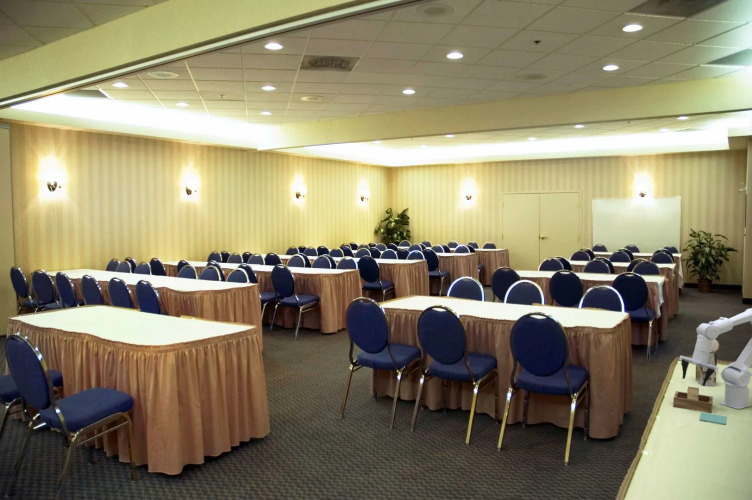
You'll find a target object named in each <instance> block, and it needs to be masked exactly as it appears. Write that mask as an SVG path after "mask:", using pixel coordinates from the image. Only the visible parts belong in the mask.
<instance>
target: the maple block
mask: <svg viewBox="0 0 752 500" xmlns="http://www.w3.org/2000/svg"><path fill="white" fill-rule="evenodd" d="M686 393H687V399H689V400H696V401H699V395H700V388H699V387H694V386H688V387H687V390H686Z"/></svg>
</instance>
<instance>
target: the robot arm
mask: <svg viewBox="0 0 752 500" xmlns="http://www.w3.org/2000/svg"><path fill="white" fill-rule="evenodd" d="M748 322H750V324H751V325H752V307H751V308H747V309H745V311H744V312H741V313H738V314H736V315H735V316H732V317H730V318H727V317H723V316H720V317H719V318H718V319H716V320H714V321H709V322H708V323H700V324H699V325H698V327H696V333H697V335H696V338H697V339H696V343H695V346H694V350H693V353H692V357H687V356H684V355H680V356H679V359H678V360H679V361H680V365H681V369H682V377H681V378H682V379H683V380H684V379H686V376H687V371H688V368H689V364H692V365H694V366H696V365H698V366H701V367H704V368H707V371H706V375H705V379H704V381H703V385H705V384H706V382H707V380H708V378H709V377H710V376H711V375H712V374H713V373H714V372H715V371H716V372H718V371H719V366H714V365H711V364H708V363H707V361H708V357H709V353H710V350H711V347H712V343H713V339H717V338H719V337H718V336H719V335H722V334H723V333H727V332H729V331H731V330H733V328H734V326H735V327H736V326H738V325H741V324H745V323H748ZM696 363H698V364H696ZM699 364H701V365H699ZM702 365H703V366H702ZM705 366H706V367H705ZM751 367H752V337H751V338H750V339H749V341H748V343H747V344H746V345H745V347H744V349H743V350H742V352H741V353H740V354H739V356H738V357H737V359H736V360H735V361H734V362H733V361H732V362H731V363H728V365H727V366H726V367H725V368H723V369H722V370H721V372H720V373H721V374H720V376H721V379H722V380H723V381H724V401H721V402H719V404H720V405H722V406H726V407H729V408H733V409H735V410H741V409H744V408H748V407H750V406H752V404H751V403H750V388H749V387H748V385H749V384H750V381H751V378H752V371H751Z"/></svg>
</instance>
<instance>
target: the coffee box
mask: <svg viewBox="0 0 752 500" xmlns="http://www.w3.org/2000/svg"><path fill="white" fill-rule="evenodd" d="M707 363H708V364H711V365H714V366H717V365H718V364H717V363H718V353H717V352H714V351H712V350H710V353H709V357H708V361H707ZM696 364H698V363H696ZM699 365H701V364H699ZM702 366H703V365H702ZM705 367H706V366H705ZM717 367H718V366H717ZM706 371H707V368H704V367H701V366H698V365H695V381H696V382H697V383H698V384H700V385H701V386H703V387H704V386H707V387H717V371H715V372H714V373H713V374H712V375H711V376H710V377H709V378H708V380H707V382H706V384H705V385H703V381H704V379H705V375H706Z"/></svg>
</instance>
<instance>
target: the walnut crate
mask: <svg viewBox="0 0 752 500" xmlns="http://www.w3.org/2000/svg"><path fill="white" fill-rule="evenodd" d="M713 397H714V396H710V395H705V394H699V401H696V400H689V399H687V392H685V391H678V390H676V391H675V393H674V395H673V402H672V403H673V404H672V405H673V408H678V409H685V410H691V411H696V412H703V413H709V414H712V411H713V403H714V402H713V400H714V398H713Z"/></svg>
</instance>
